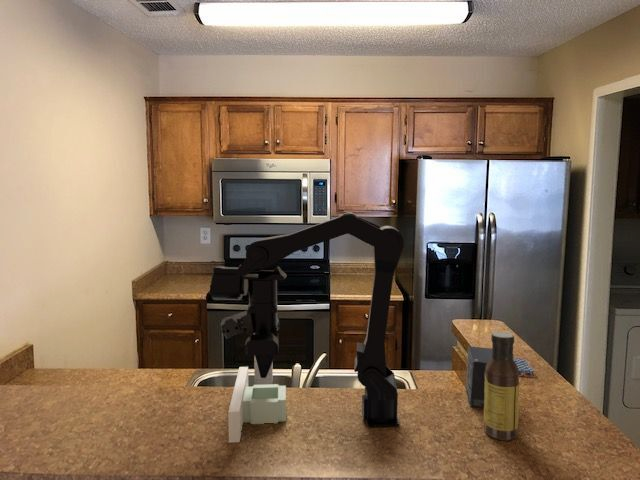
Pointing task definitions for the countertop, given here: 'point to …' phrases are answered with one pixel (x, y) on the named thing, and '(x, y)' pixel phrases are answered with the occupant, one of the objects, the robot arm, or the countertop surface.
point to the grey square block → (258, 379)
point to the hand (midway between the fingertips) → (263, 373)
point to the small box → (476, 374)
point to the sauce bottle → (501, 389)
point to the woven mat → (524, 367)
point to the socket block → (264, 404)
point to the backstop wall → (237, 406)
